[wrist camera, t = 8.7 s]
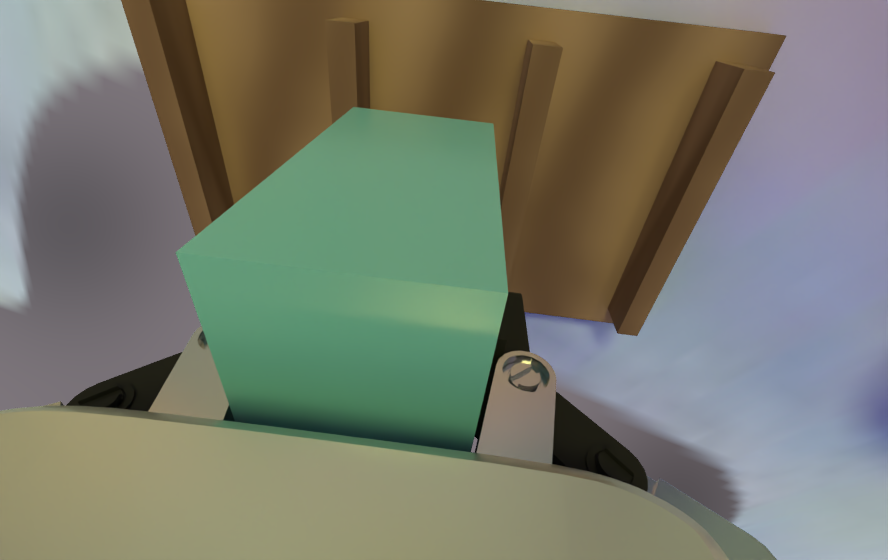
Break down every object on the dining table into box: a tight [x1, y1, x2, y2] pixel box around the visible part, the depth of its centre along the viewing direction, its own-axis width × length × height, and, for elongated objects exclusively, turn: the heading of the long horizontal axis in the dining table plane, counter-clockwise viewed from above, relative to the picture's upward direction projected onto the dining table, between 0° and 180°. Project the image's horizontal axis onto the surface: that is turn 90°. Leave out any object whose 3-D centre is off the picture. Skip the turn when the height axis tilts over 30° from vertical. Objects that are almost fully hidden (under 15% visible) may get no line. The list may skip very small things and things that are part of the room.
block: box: [176, 107, 508, 452], centre depth 11 cm, size 4×9×8 cm, turn 175°
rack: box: [121, 0, 786, 336], centre depth 18 cm, size 24×14×3 cm, turn 85°
